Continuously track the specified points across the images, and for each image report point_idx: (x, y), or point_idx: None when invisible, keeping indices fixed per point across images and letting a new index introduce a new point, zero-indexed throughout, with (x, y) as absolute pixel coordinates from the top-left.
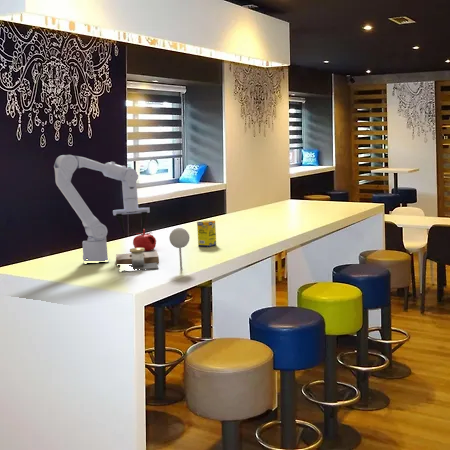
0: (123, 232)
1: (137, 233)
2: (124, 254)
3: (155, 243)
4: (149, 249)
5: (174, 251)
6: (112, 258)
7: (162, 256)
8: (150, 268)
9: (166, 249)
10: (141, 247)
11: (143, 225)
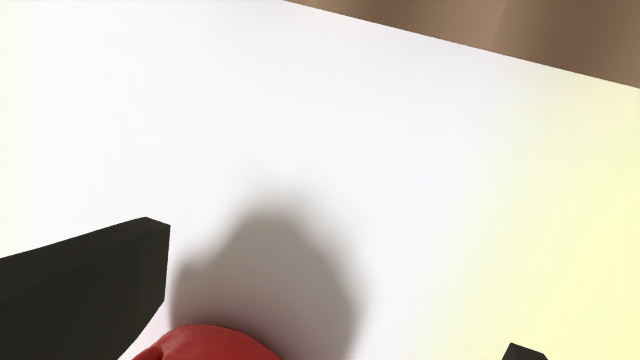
0: (530, 351)
1: None
2: (579, 11)
3: (133, 358)
4: (208, 325)
5: (50, 174)
6: (612, 246)
7: (156, 6)
8: None
9: None
10: (260, 354)
11: (47, 251)
